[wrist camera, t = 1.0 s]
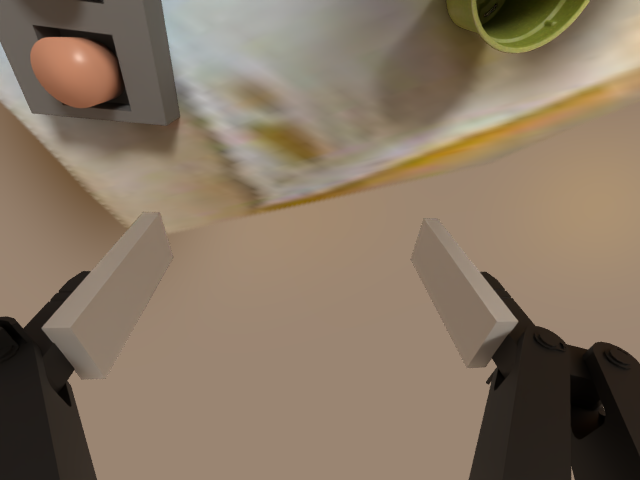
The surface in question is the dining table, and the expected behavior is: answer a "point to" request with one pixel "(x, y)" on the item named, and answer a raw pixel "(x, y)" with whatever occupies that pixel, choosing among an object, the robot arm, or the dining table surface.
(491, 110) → the dining table surface
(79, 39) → the pink button
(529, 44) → the plant pot
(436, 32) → the dining table surface
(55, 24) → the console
